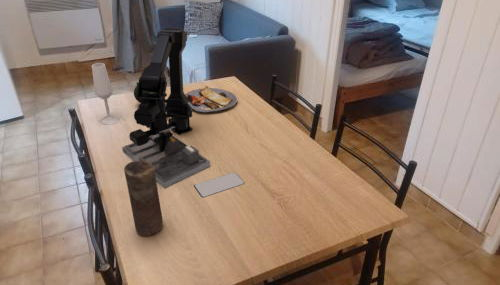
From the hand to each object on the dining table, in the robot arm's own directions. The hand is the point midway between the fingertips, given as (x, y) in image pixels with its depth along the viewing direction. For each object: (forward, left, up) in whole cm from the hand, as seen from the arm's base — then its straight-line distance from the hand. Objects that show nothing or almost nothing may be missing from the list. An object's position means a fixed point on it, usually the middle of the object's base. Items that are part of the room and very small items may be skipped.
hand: (161, 151), depth 127 cm
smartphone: (-6, +24, -4) cm, 25 cm away
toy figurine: (-17, -37, -4) cm, 41 cm away
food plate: (-41, -27, -4) cm, 49 cm away
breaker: (-5, +10, -1) cm, 11 cm away
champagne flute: (+1, -40, -4) cm, 40 cm away
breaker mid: (-4, 0, -1) cm, 4 cm away
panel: (-1, 0, -3) cm, 4 cm away
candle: (+20, +26, -4) cm, 33 cm away
